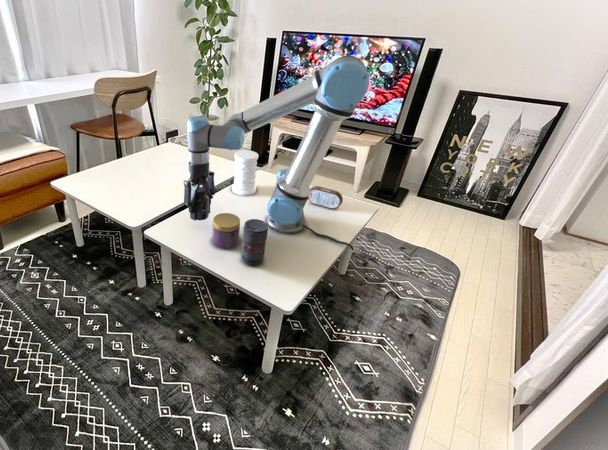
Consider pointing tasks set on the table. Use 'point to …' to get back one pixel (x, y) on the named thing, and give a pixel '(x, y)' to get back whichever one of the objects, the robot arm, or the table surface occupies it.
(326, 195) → the tin
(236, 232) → the jar
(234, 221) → the jar lid
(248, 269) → the table surface
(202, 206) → the supplement bottle
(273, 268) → the table surface
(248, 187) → the decorative container
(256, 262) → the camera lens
